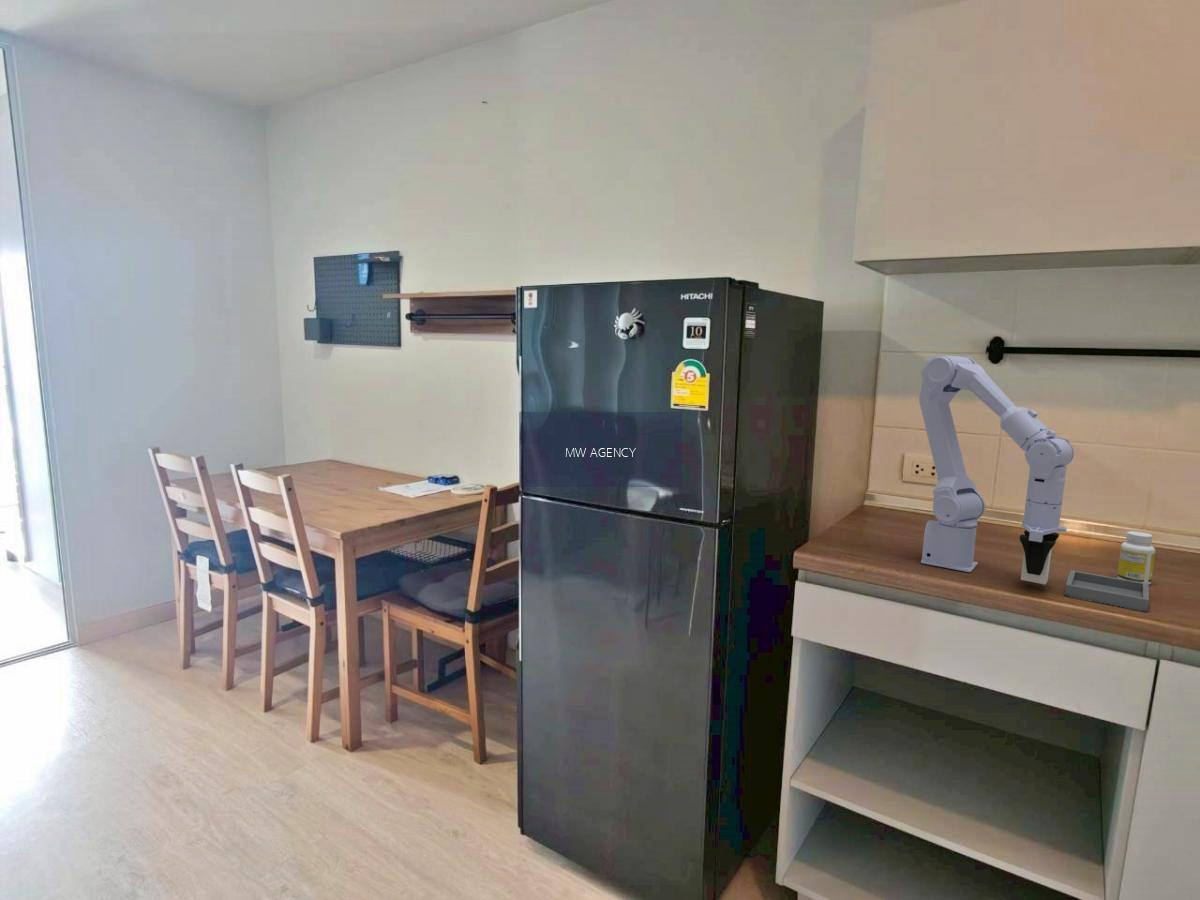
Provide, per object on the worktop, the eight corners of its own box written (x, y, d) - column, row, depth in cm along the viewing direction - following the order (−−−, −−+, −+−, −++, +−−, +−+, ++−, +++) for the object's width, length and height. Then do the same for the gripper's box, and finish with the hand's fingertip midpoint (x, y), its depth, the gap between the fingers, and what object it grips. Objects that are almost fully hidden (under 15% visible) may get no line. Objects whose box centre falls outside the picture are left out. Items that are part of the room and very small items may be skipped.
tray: (1064, 596, 125) (1065, 584, 125) (1069, 580, 134) (1070, 570, 134) (1147, 612, 118) (1149, 600, 117) (1146, 595, 127) (1148, 583, 127)
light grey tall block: (1020, 579, 129) (1024, 544, 128) (1023, 574, 132) (1027, 540, 131) (1045, 584, 127) (1050, 548, 126) (1047, 579, 130) (1052, 544, 129)
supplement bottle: (1135, 577, 138) (1142, 530, 137) (1158, 586, 133) (1165, 537, 131) (1109, 576, 138) (1116, 530, 136) (1131, 585, 132) (1138, 537, 131)
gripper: (1066, 510, 119) (1056, 585, 121) (1072, 499, 131) (1063, 567, 132) (1019, 504, 124) (1011, 576, 125) (1029, 493, 135) (1021, 559, 137)
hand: (1035, 571), depth 129 cm, fingers closed on light grey tall block, 4 cm apart
